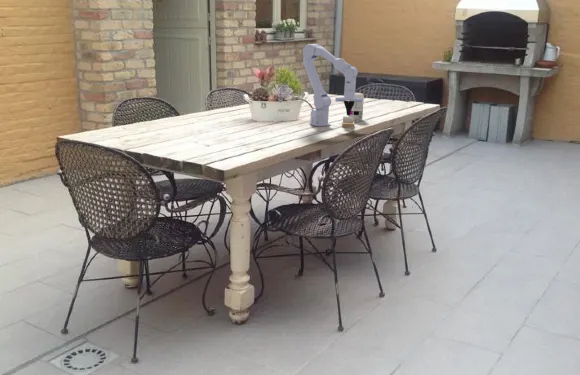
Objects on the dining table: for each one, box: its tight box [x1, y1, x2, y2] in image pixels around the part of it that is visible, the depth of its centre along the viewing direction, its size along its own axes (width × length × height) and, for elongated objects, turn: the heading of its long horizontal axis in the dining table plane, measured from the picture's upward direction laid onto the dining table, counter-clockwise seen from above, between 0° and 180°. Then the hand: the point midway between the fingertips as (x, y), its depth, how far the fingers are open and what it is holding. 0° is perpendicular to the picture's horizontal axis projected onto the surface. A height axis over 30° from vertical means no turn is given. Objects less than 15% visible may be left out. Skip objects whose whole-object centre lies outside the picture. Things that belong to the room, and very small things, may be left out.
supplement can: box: [347, 92, 365, 121], centre depth 362 cm, size 8×8×15 cm
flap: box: [342, 116, 355, 124], centre depth 335 cm, size 3×6×6 cm
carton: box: [341, 121, 355, 128], centre depth 341 cm, size 7×6×2 cm
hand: (348, 115), depth 335 cm, fingers closed
